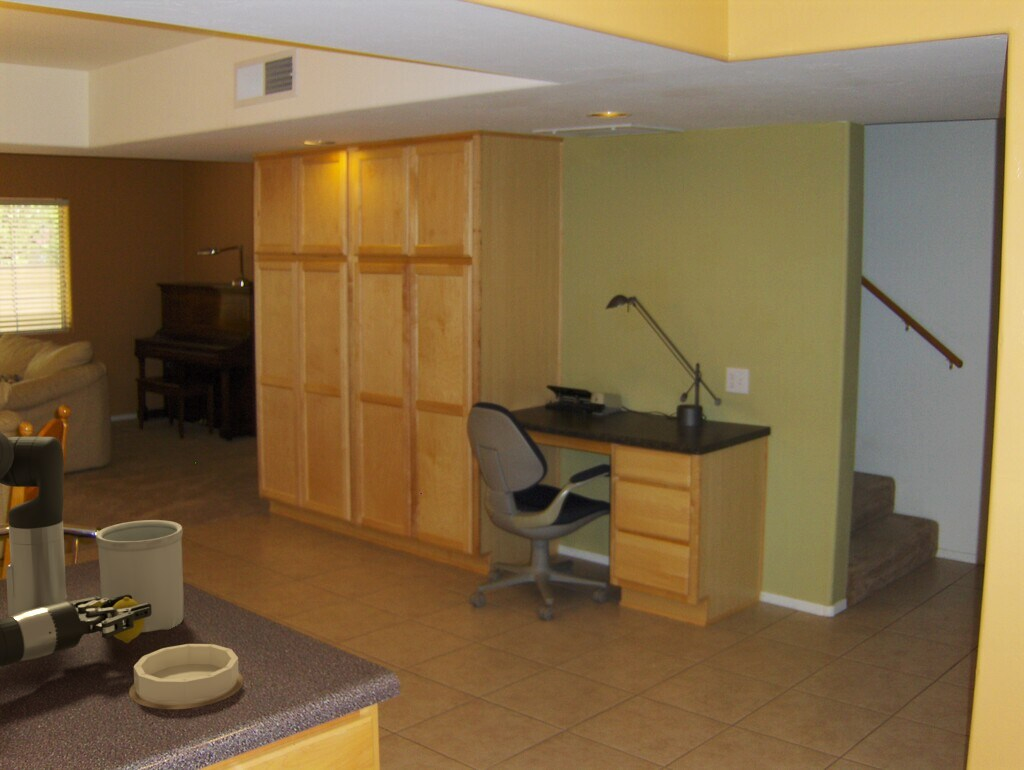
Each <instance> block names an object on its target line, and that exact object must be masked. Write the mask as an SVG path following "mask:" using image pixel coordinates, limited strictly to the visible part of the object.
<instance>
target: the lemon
mask: <svg viewBox="0 0 1024 770" xmlns="http://www.w3.org/2000/svg"><path fill="white" fill-rule="evenodd" d="M137 605H140V604H139V603H138V602H137V601H135V600H133V599H130V598H129V597H124V599H122V600H120V601H118V602H117V603H116V604H115V605H114V606H113V607H114V608H115V609H124V608H129V607H133V606H137ZM118 615H121V614H118ZM118 615H117V616H118ZM110 618H111V614H110V617H109V619H110ZM143 626H144V618H142V619H139V620H135V621H134V627H133V628H131V629H128V630H126V631H123V632H121V633H118V634H116V635H113V636H114V638H116V639H118V640H120V641H122V642H123V643H125V644H129V643H130V642H131V641H132V640H134V639H136V638H137V637H139V635H141V633H142V632H141V631H142V629H143Z"/></svg>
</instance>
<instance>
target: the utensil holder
mask: <svg viewBox="0 0 1024 770" xmlns="http://www.w3.org/2000/svg"><path fill="white" fill-rule="evenodd" d="M183 533H184V532H183V526H182V525H181V524H180V523H179V522H178V523H177V522H175V521H171V520H170V521H169V520H162V519H161V520H160V519H149V520H148V519H145V520H135V521H127V522H122V523H118V524H113V525H110V526H107V527H104V528H102V529H101V530H99V531H98V532H96V535H95V541H96V544H97V546H98V547H97V548H98V563H99V565H98V566H99V578H100V593H101V599H104V598H109V600H110V599H112V598H116V597H120V596H124V595H127V594H128V595H131V596H132V599H133V600H135V601H137V602H138V603H139V604H144V603H149V604H151V611H152V613H151V616H149V617H146V618H144V626H143V629H142V631H141V633H148V632H156V631H159V630H169V629H170V630H171V628H172V629H174V628H175V626H176V627H178V626H179V625H180V624H181V623H182V622H183V620H184V578H183V577H184V576H183V575H184V574H183V571H184V570H183V545H182V544H183V543H182V537H183ZM109 617H110V613H109V614H108V619H109ZM178 624H179V625H178ZM173 627H174V628H173Z"/></svg>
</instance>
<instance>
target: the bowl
mask: <svg viewBox="0 0 1024 770" xmlns="http://www.w3.org/2000/svg"><path fill="white" fill-rule="evenodd" d="M238 672H239V657H238V656H237V654H236V653H235V652H234V651H233V649H232V648H228V647H224V646H222V645H218V644H214V643H212V644H211V643H186V644H180V645H174V646H168V647H163V648H160V649H158V650H155V651H152V652H149V653H147V654H144V655H143V656H141V657H140V659H138V661H137V662H136V663H135V664H134V666H133V684H134V686H135V687H136V693H137V696H138V697H139V698H140V699H142V700H143V701H145V702H148V703H151V704H156V705H163V706H186V705H193V704H199V703H204V702H208V701H211V700H214V699H217V698H219V697H221V696H223V695H225V694H227V693H229V692H230V691H231V690H232V689H233V688H234V687H235V686H236V684H237V678H238V676H239V673H240V672H239V673H238Z"/></svg>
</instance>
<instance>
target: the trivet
mask: <svg viewBox="0 0 1024 770" xmlns="http://www.w3.org/2000/svg"><path fill="white" fill-rule="evenodd" d="M238 673H239V676H238V678H237V684H236V686H235V687H234V688H233V689H232V690H231V691H230V692H229V693H227V694H225V695H223V696H221V697H219V698H217V699H214V700H211V701H208V702H204V703H199V704H193V705H186V706H163V705H156V704H151V703H148V702H145V701H143V700H142V699H140V698H139V697H138V696H137V693H136V687H135V686H134V683H133V684H132V685H131V686H130V688H129V692H128V694H129V697H130V698H131V700H132V701H133V702H135V703H137V704H139V705H141V706H143V707H147V708H152V709H161V710H184V709H193V708H199V707H203V706H209V705H212V704H215V703H218V702H221V701H223V700H225V699H228V698H231V696H233V695H235V694H236V693H238V692H239V691H240V689H241V688H242V687H243V684H244V677H243V676H242V674H241V673H240V672H239V671H238Z"/></svg>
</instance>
